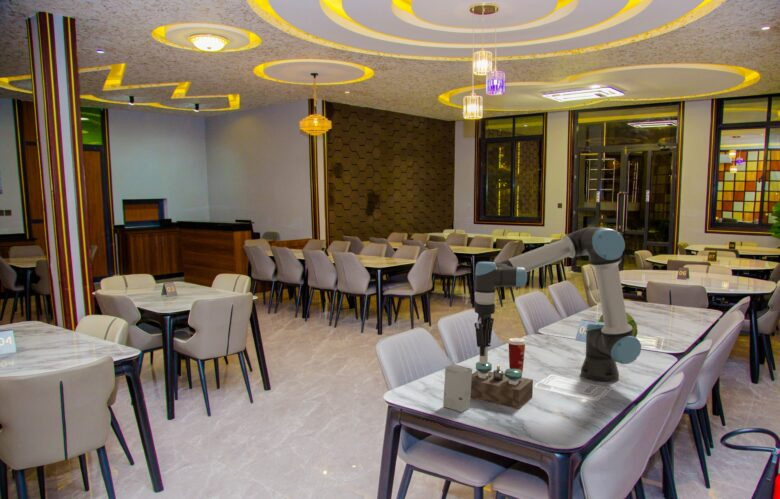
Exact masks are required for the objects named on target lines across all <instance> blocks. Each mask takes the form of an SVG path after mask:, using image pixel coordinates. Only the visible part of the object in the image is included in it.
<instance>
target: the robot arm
mask: <svg viewBox="0 0 780 499" xmlns="http://www.w3.org/2000/svg"><path fill="white" fill-rule="evenodd" d="M625 248H626V243H625V240H624V236H623V235H622V234H621V233H620V232H619V231H617V230H615V229H612V228H609V227H596V226H587V227H584V228H581V229H579V230H578V229H577V230H575V231H573V232H570V233H568V234H566V235H563V236H562V237H561V239H559V240H557V241H554V242H552V243H549V244H545V245H543V246H541V247H537V248H535V249H531V250H529V251H526V252H524V253H522V254H519V255H516V256H513V257H510V258H508V259H506V260H505V259H504V260H501V261H499V262H498V261H496V262H494V261H478V262H477V263H476V264H475V273H474V275H475V276H474V277H475V278H474V284H475V285H474V286H475V287H474V288H475V289H474V293H473V294H474V302H475V303H474V312H475V314H477V322H475V323H474V328H475V336H476V337H475V338H476V339H475V340H476V347H478V348H479V361H478V362H479V363H480V364H488V363H489V362H488V358H489V357H488V356H489V347H491V342H492V334H493V326H494V321H495V318H493V317H492V315H493V314H495V311H496V309H495V308H496V307H495V306H496V304H495V302H496V288H504V287H505V288H508V287H509V288H510V287H511V288H515V287H516V288H518V287H524V286H525V285H526V284H527V281H528V272H531V271H533V270H537V269H539V268H542V267H544V266H547V265H549V264H553V263H555V262H558V261H562V260H563V259H566V258H571V259H572V258H577V257H579V256H580V257H581V256H587V257H588V259H589V265H590V266H591V267H593V268H594V271H595V277H596V282H597V289H598V295H599V300H600V307H601V313H602V314H603V319H604V322H599V321H598V322H596V321H595V322H589V323H588V324H587V325H586V330H585V335H586V336H585V338H586V339H585V358H584V360H583V362H582V363H583V364H582V366H581V368H580V375H581V377H583V378H585V379H587V380H590V381H591V380H592V381H596V382H604V383H605V382H607V383H608V382H616V381H618V380H620V379H619V376H620V373H619V369H618V365H617V363H618V364H622V365H628V364H631V363H634V362H635V361H636V360H637V359H638V357H639V356H640V354H641V352H642V343H641V342H640V340H639V338H637V336H636V337H634V334H633V328H632V326H631V325H629V324H628V323H627V317H626V313H627V311H626V306H625V301H624V294H623V286H622V282H621V274H620V269H619V264H620V263H621V261H622V255H623V254H624V253H623V252H624V251H625ZM602 314H601V315H602Z"/></svg>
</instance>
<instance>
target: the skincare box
mask: <svg viewBox="0 0 780 499" xmlns="http://www.w3.org/2000/svg"><path fill="white" fill-rule="evenodd" d="M444 371H445V372H444V382H443V384H444V385H443V386H444V387H443V388H444V389H443V402H442V403H443V404H442V406H443V408H447V409H450V410H453V411H456V412H459V413H463V412H465V411H467V410H469V409H471V398H470V397H471V380H472V374H473V369H472V368H470V367H466V366H463V365H459V364H455V363H452V364H450V365H446V366H445V367H444Z"/></svg>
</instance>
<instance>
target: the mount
mask: <svg viewBox="0 0 780 499" xmlns="http://www.w3.org/2000/svg"><path fill="white" fill-rule="evenodd" d="M493 372H494V371H489V378H488V379H483V378H478V370H476V371H474V372H472V380H471V397H470V400H476V401H479V402H485V403H489V404H494V405H498V406H504V407H508V408H511V409H512V408H513V409H516V410H521V408H522V407H523V406H525V405H526V404H527V403H529V401H530V400H531V399H533V396H534V395H533V390H534V387H533V386H534V385H533V384H534V380H533V379H534V378H533V379H532V378H528V377H527V378H525V377H522V378H520V379H519V384H518V385H514V384H508V378H507V377H506V376H505V373H503V380H502V381H496V380H494V379H493Z"/></svg>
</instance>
